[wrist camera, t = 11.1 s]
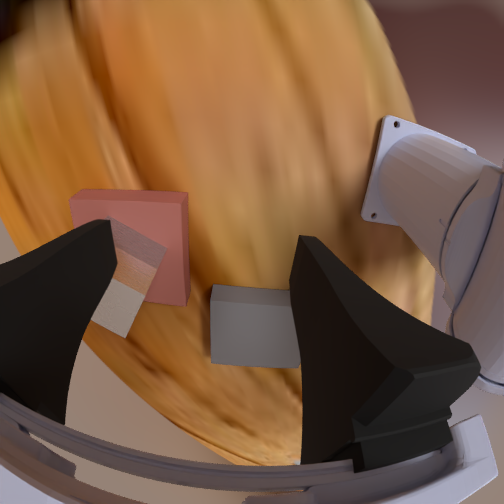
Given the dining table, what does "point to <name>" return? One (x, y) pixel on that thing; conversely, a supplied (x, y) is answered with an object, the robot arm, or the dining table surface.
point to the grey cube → (128, 278)
